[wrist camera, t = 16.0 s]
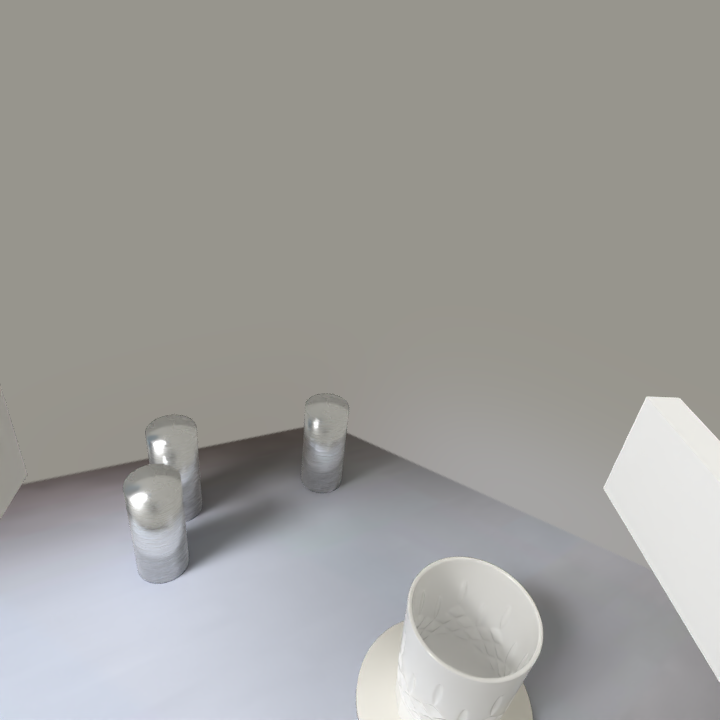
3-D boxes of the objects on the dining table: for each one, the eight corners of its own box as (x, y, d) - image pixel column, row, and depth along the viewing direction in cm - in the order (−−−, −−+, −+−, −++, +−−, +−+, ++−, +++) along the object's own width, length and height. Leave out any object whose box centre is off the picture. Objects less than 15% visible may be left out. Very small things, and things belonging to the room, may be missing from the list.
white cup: (435, 623, 42) (461, 535, 37) (524, 706, 38) (568, 619, 32) (362, 695, 37) (379, 605, 32) (454, 799, 33) (492, 715, 27)
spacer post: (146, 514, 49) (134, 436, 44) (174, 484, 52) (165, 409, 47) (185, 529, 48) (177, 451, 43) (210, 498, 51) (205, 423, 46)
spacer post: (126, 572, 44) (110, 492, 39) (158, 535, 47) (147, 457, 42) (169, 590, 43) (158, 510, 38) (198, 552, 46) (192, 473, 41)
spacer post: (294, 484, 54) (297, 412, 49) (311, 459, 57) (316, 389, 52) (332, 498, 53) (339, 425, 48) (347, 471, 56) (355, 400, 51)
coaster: (328, 757, 34) (329, 752, 34) (386, 598, 44) (387, 594, 44) (521, 848, 31) (524, 844, 31) (537, 657, 41) (539, 653, 41)
